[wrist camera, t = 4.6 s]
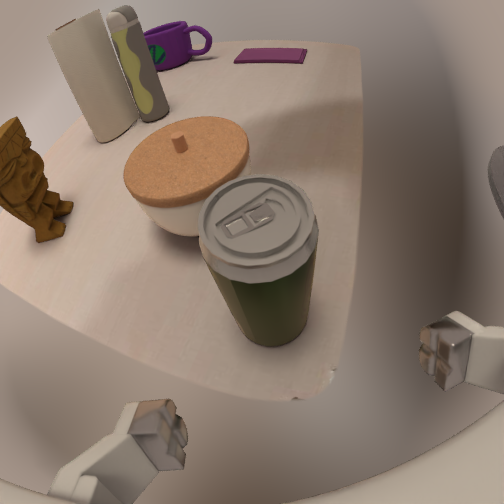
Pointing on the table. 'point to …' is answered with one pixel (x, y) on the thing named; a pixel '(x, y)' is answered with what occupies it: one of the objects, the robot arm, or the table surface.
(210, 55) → the table surface
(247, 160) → the trinket box
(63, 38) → the paper towel roll
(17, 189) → the wooden tiki figurine
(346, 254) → the table surface
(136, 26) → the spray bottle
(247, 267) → the beer can
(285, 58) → the flat purple rectangular slab
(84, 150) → the table surface
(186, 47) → the mug
